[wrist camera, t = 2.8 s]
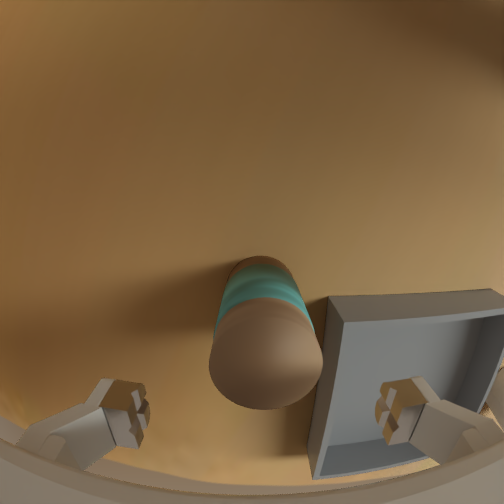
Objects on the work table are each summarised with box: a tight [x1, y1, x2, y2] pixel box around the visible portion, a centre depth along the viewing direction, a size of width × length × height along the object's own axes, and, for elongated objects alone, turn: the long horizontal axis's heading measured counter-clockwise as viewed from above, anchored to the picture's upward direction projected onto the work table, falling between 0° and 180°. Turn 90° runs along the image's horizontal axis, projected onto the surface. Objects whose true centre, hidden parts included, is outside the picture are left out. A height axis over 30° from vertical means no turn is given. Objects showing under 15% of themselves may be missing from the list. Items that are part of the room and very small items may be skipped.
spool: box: [209, 256, 323, 410], centre depth 16 cm, size 4×4×9 cm
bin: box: [307, 289, 504, 480], centre depth 20 cm, size 15×15×4 cm
